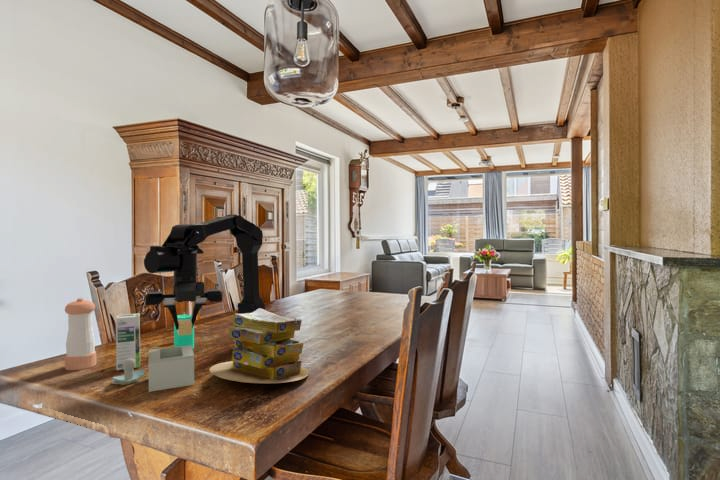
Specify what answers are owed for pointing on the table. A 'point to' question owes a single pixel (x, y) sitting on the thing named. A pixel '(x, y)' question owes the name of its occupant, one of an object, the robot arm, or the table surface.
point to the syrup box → (127, 339)
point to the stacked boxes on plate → (263, 349)
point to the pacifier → (128, 373)
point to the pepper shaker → (80, 336)
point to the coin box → (171, 367)
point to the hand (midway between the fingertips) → (184, 328)
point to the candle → (183, 339)
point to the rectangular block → (184, 327)
